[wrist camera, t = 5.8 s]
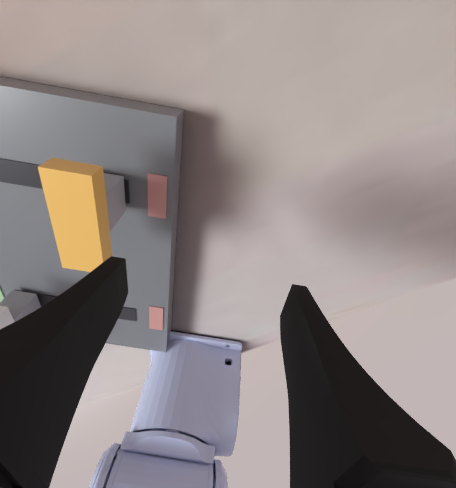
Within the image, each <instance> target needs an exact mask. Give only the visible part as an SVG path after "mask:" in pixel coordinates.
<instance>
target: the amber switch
mask: <svg viewBox="0 0 456 488" xmlns="http://www.w3.org/2000/svg"><path fill="white" fill-rule="evenodd" d="M38 171H39V175H40V179H41V183H42V187H43V191H44V195H45V199H46V203H47V207H48V211H49V215H50V219H51V223H52V227H53V231H54V236H55V240H56V244H57V248H58V252H59V256H60V260H61V264H62V268H68V269H74V270H80V271H86V272H91V271H93V270H94V269H95V268H97V267H98V266H99V265H100V264H102V263H103V262H104V261H106V260H107V259H108V258H110V257H111V256H112V247H111V238H110V232H111V230H112V229H113V227H114V226H115V225H116V223H117V222H118V221H119V219H120V218H121V217H122V215H123V214H124V213H125V211H126V205H125V190H124V176H119V175H113V174H107V173H103V166H99V165H93V164H87V163H81V162H75V161H70V160H64V159H58V158H51V159H50V160H48V161H46V162H44V163H43V164H41V165H39V166H38Z"/></svg>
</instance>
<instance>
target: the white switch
mask: <svg viewBox="0 0 456 488" xmlns="http://www.w3.org/2000/svg"><path fill="white" fill-rule="evenodd" d="M40 307H41V305H40V302H39V300H38V297H37V294H34V293H28V292H22V291H15V290H12V291H11V292H10V293H9V294H8V295H7V296H6V297H5V298H4V299H3V300H2V301H1V303H0V329H2V328H4V327H6V326H8V325H10V324H12V323H14V322H16V321H18V320H19V319H21V318H23V317H25V316H27V315H28V314H30V313H32V312H34V311H35V310H37V309H39V308H40Z"/></svg>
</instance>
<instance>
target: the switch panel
mask: <svg viewBox="0 0 456 488" xmlns="http://www.w3.org/2000/svg"><path fill="white" fill-rule="evenodd" d="M183 116H184V110H183V109H178V108H172V107H166V106H161V105H155V104H150V103H144V102H139V101H133V100H128V99H122V98H117V97H111V96H106V95H100V94H94V93H89V92H83V91H78V90H72V89H67V88H61V87H56V86H50V85H45V84H39V83H34V82H28V81H22V80H17V79H11V78H6V77H0V303H1V301H2V300H3V299H4V298H5V297H6V296H7V295H8V294H9V293H10V292H11V291H12V290H15V291H22V292H28V293H34V294H37V297H38V300H39V302H40V305H41V307H42V306H43V305H45V304H47V303H48V302H50V301H51V300H53V299H54V298H56V297H57V296H58V295H60V294H61V293H63V292H64V291H66V290H67V289H69V288H70V287H71V286H73V285H74V284H75V283H77V282H78V281H80V280H81V279H82V278H84V277H85V276H86V275H88V274H89V273H90V272H86V271H80V270H74V269H68V268H62V264H61V260H60V256H59V252H58V248H57V244H56V240H55V236H54V231H53V227H52V223H51V219H50V215H49V211H48V207H47V203H46V199H45V195H44V191H43V187H42V183H41V179H40V175H39V171H38V166H39V165H41V164H43V163H44V162H46V161H48V160H50V159H51V158H58V159H64V160H70V161H75V162H81V163H87V164H93V165H99V166H103V173H107V174H113V175H119V176H124V190H125V205H126V211H125V213H124V214H123V215H122V217H121V218H120V219H119V221H118V222H117V223H116V225H115V226H114V227H113V229H112V230H111V232H110V238H111V247H112V256H113V257H119V258H126V270H127V281H128V295H127V298H126V301H125V304H124V306H123V309H122V312H121V314H120V316H119V318H118V320H117V322H116V324H115V326H114V328H113V330H112V332H111V333H110V335H109V337H108V339H107V341H106V343H109V344H115V345H122V346H128V347H135V348H141V349H148V350H154V351H161V352H166V351H167V347H168V344H169V340H170V332H171V324H172V306H173V289H174V272H175V255H176V237H177V220H178V203H179V185H180V168H181V151H182V134H183Z"/></svg>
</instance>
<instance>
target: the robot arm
mask: <svg viewBox="0 0 456 488" xmlns="http://www.w3.org/2000/svg"><path fill="white" fill-rule="evenodd" d="M127 295H128V281H127V270H126V258H119V257H113V256H111V257H110V258H108V259H107V260H106V261H104V262H103V263H102V264H100V265H99V266H98V267H97V268H95V269H94V270H93V271H91V272H90V273H89V274H88V275H86V276H85V277H84V278H82V279H81V280H80V281H78V282H77V283H75V284H74V285H73V286H71V287H70V288H69V289H67V290H66V291H64V292H63V293H61V294H60V295H58V296H57V297H56V298H54V299H53V300H51V301H50V302H48V303H47V304H45V305H43V306H42V307H40V308H39V309H37V310H35V311H34V312H32V313H30V314H28V315H27V316H25V317H23V318H21V319H19V320H18V321H16V322H14V323H12V324H10V325H8V326H6V327H4V328H2V329H0V488H49V486H50V483H51V479H52V476H53V473H54V470H55V467H56V464H57V461H58V458H59V455H60V452H61V449H62V447H63V444H64V441H65V438H66V435H67V432H68V430H69V427H70V424H71V421H72V418H73V416H74V414H75V411H76V408H77V406H78V403H79V400H80V398H81V395H82V393H83V390H84V388H85V385H86V383H87V380H88V378H89V375H90V373H91V371H92V368H93V366H94V364H95V362H96V360H97V358H98V356H99V354H100V352H101V351H102V349H103V347H104V345H105V343H106V341H107V339H108V337H109V335H110V333H111V332H112V330H113V328H114V326H115V324H116V322H117V320H118V318H119V316H120V314H121V312H122V309H123V306H124V304H125V301H126V298H127ZM280 331H281V345H282V351H283V359H284V366H285V373H286V381H287V389H288V399H289V424H290V488H456V460H455V458H454V456H453V454H452V452H451V451H450V450H449V449H448V448H447V447H446V446H444V445H443V444H442V443H441V442H440V441H438V440H437V439H436V438H435V437H434V436H432V435H431V434H430V433H429V432H427V431H426V430H425V429H424V428H423V427H422V426H420V425H419V424H418V423H417V422H416V421H415V420H414V419H413V418H412V417H411V416H409V415H408V414H407V413H406V412H405V411H404V410H403V409H402V408H401V407H400V406H399V405H397V403H396V402H394V401H393V400H392V399H391V398H390V397H389V396H388V395H387V394H386V393H385V392H384V391H383V390H382V388H381V387H380V386H379V385H378V384H377V383H376V382H375V381H374V380H373V379H372V378H371V377H370V376H369V375H368V374H367V373H366V371H365V370H364V369H363V368H362V367H361V365H359V363H358V362H357V361H356V360H355V358H354V357H353V356H352V355H351V353H350V352H349V351H348V350H347V348H346V347H345V346H344V344H343V343H342V341H341V340H340V339H339V337H338V336H337V334H336V333H335V332H334V330H333V329H332V327H331V326H330V324H329V322H328V321H327V319H326V318H325V316H324V315H323V313H322V312H321V310H320V308H319V307H318V305H317V303H316V302H315V300H314V298H313V297H312V295H311V293H310V292H309V290H308V288H307V287H306V286H300V285H293V284H292V286H291V289H290V292H289V294H288V297H287V300H286V302H285V305H284V307H283V310H282V313H281V315H280ZM241 350H242V343H240V342H237V341H230V340H224V339H217V338H211V337H204V336H198V335H192V334H185V333H179V332H172V331H171V332H170V340H169V344H168V347H167V351H166V352H161V351H154V350H150V362H151V364H150V367H149V370H148V373H147V377H146V380H145V383H144V386H143V390H142V393H141V396H140V399H139V402H138V405H137V409H136V412H135V415H134V418H133V421H132V424H131V428H130V431H129V432H125V435H124V438H123V441H122V444H117V443H114V444H113V445H112V446H111V447H110V448H109V449H107V450H106V451H105V452H104V453H103V455H102V457H101V459H100V460H99V462H98V465H97V467H96V469H95V471H94V474H93V476H92V479H91V482H90V484H89V487H88V488H227V475H226V471H225V469H224V467H223V466H222V463H221V461H220V460H214V456H231V455H232V452H233V449H234V445H235V440H236V434H237V426H238V414H239V396H240V394H239V393H240V369H241Z"/></svg>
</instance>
